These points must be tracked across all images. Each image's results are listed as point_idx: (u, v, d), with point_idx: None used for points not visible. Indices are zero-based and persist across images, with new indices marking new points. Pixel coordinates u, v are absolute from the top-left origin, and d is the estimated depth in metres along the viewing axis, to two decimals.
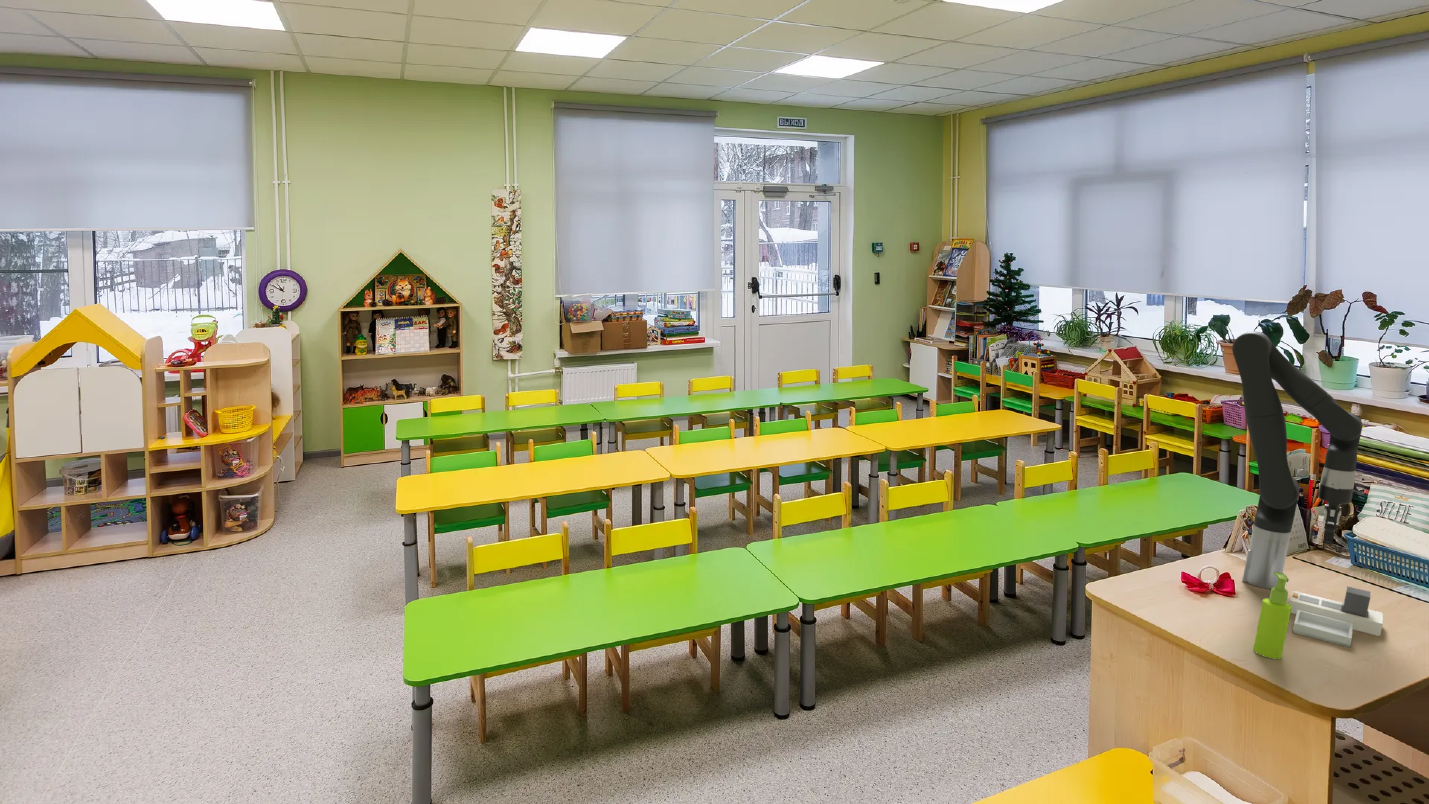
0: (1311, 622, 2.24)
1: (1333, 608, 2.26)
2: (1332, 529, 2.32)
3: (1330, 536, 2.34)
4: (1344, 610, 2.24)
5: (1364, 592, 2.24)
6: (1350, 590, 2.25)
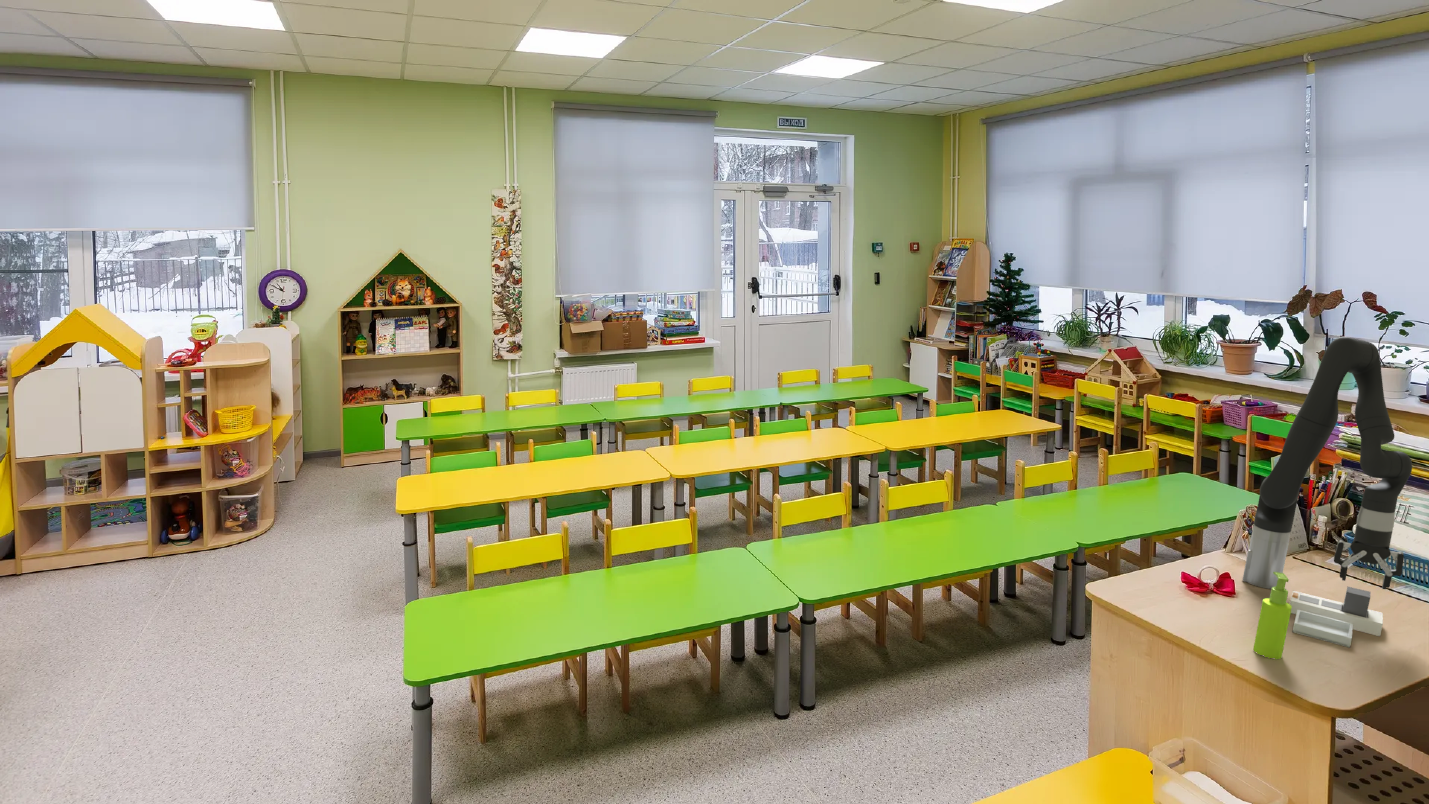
0: (1311, 622, 2.24)
1: (1333, 608, 2.26)
2: None
3: (1390, 580, 2.20)
4: (1344, 610, 2.24)
5: (1364, 592, 2.24)
6: (1350, 590, 2.25)
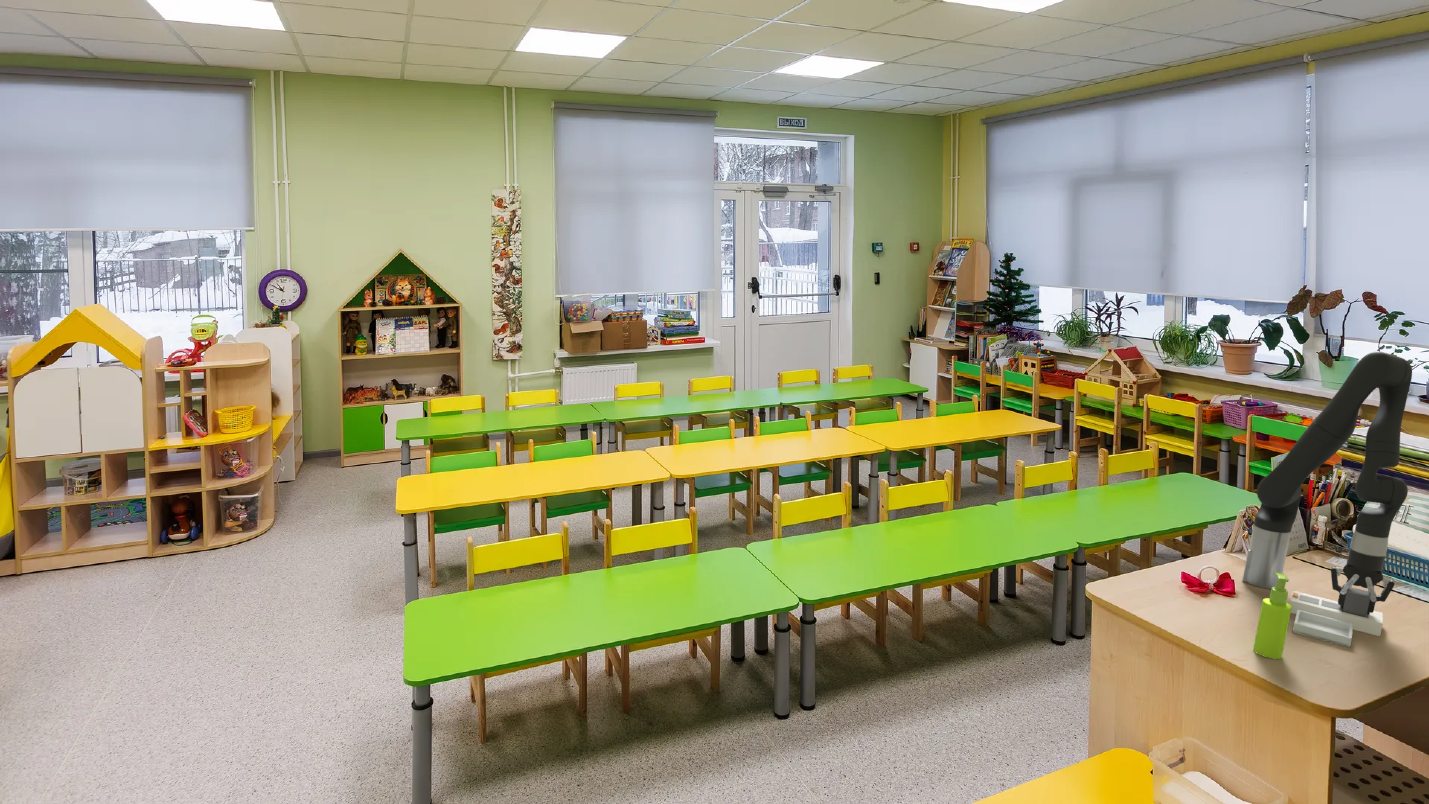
0: (1311, 622, 2.24)
1: (1333, 608, 2.26)
2: None
3: (1374, 605, 2.23)
4: (1344, 610, 2.24)
5: (1364, 592, 2.24)
6: (1350, 590, 2.25)
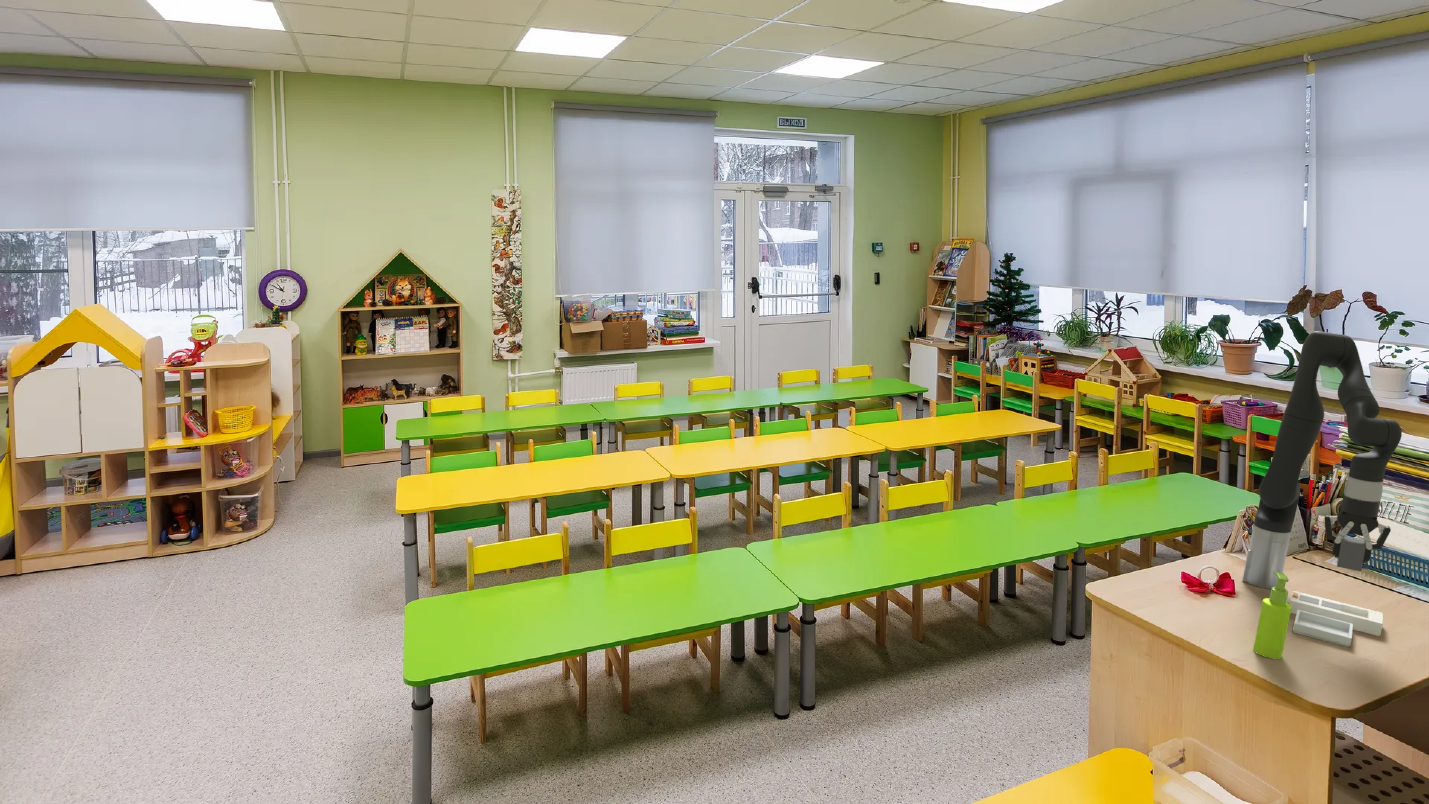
0: (1311, 622, 2.24)
1: (1333, 608, 2.26)
2: None
3: None
4: (1339, 560, 2.16)
5: (1359, 540, 2.16)
6: (1345, 539, 2.17)
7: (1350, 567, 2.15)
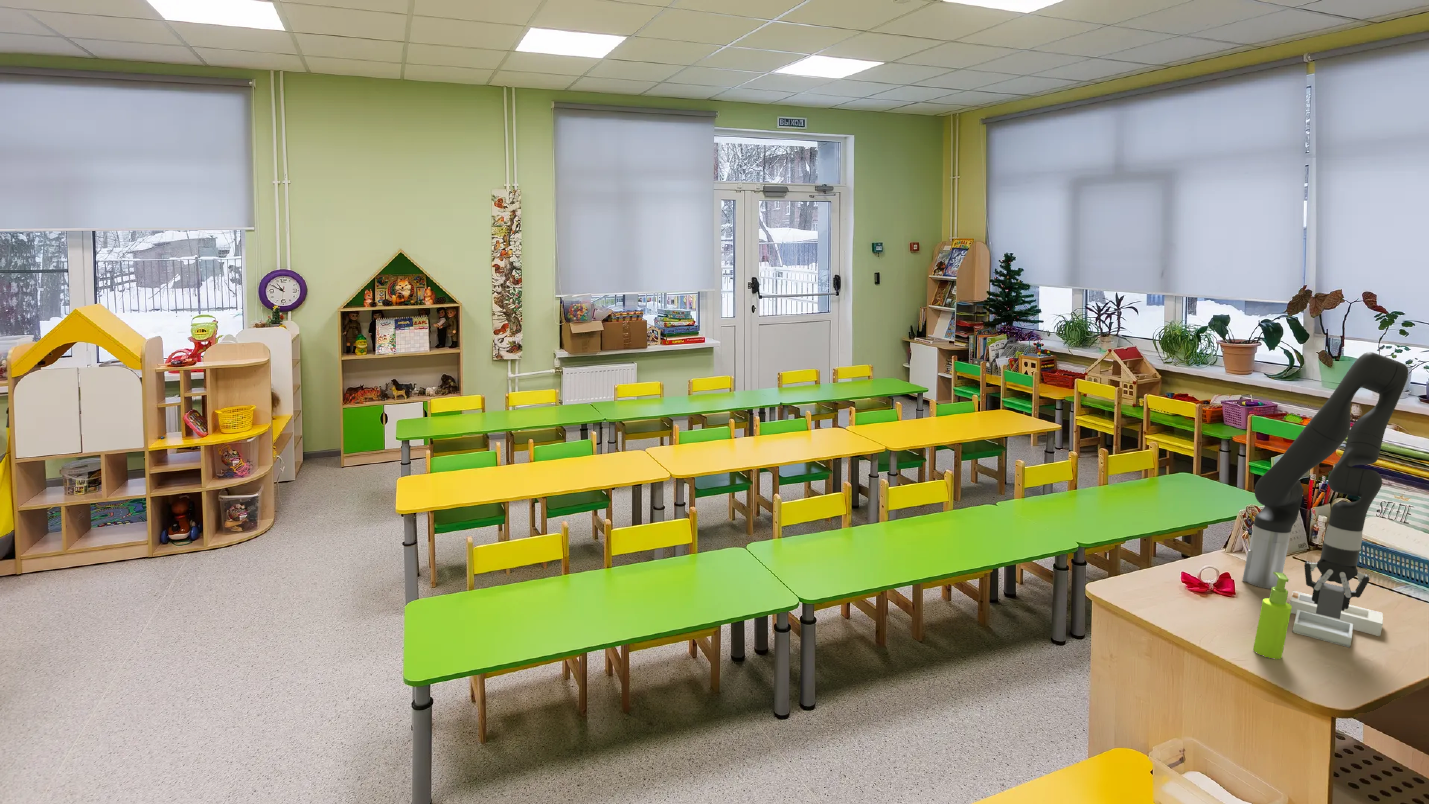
0: (1311, 622, 2.24)
1: None
2: None
3: (1349, 601, 2.15)
4: (1318, 607, 2.17)
5: (1338, 588, 2.17)
6: (1324, 586, 2.18)
7: (1329, 614, 2.16)
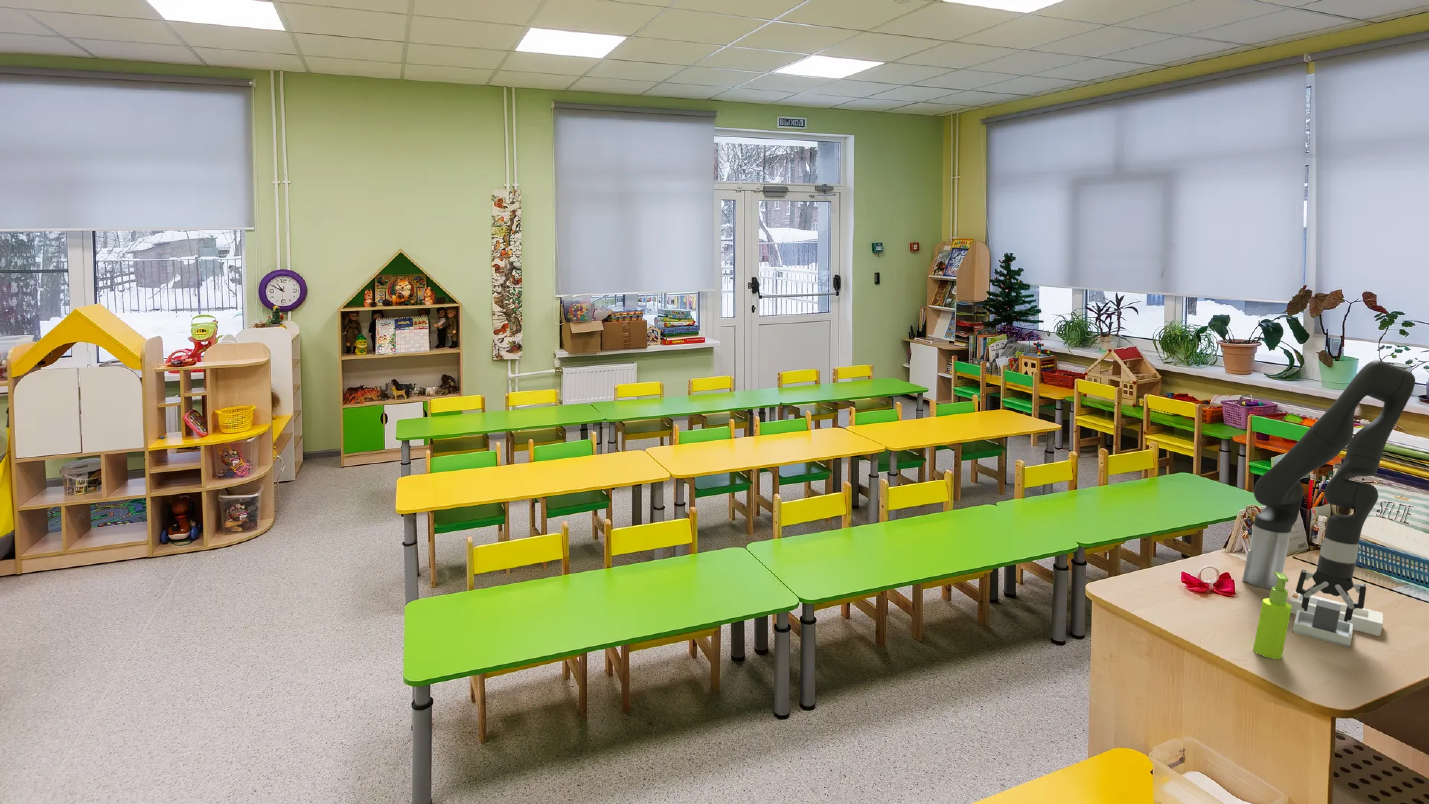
0: (1311, 622, 2.24)
1: None
2: None
3: (1352, 612, 2.15)
4: (1314, 624, 2.18)
5: (1334, 606, 2.17)
6: (1320, 603, 2.19)
7: None
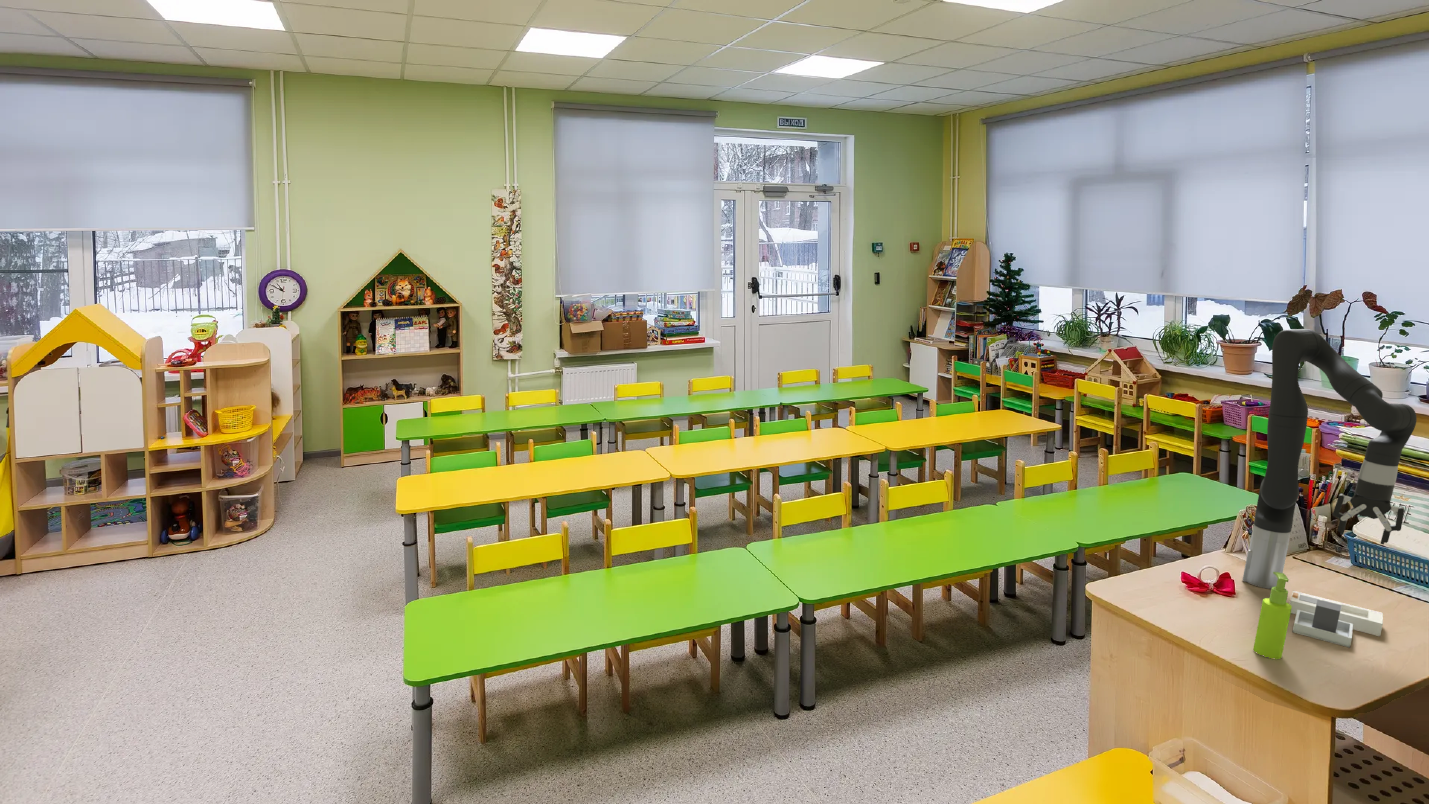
0: (1311, 622, 2.24)
1: None
2: None
3: (1389, 535, 2.17)
4: (1314, 624, 2.18)
5: (1334, 606, 2.17)
6: (1320, 603, 2.19)
7: None
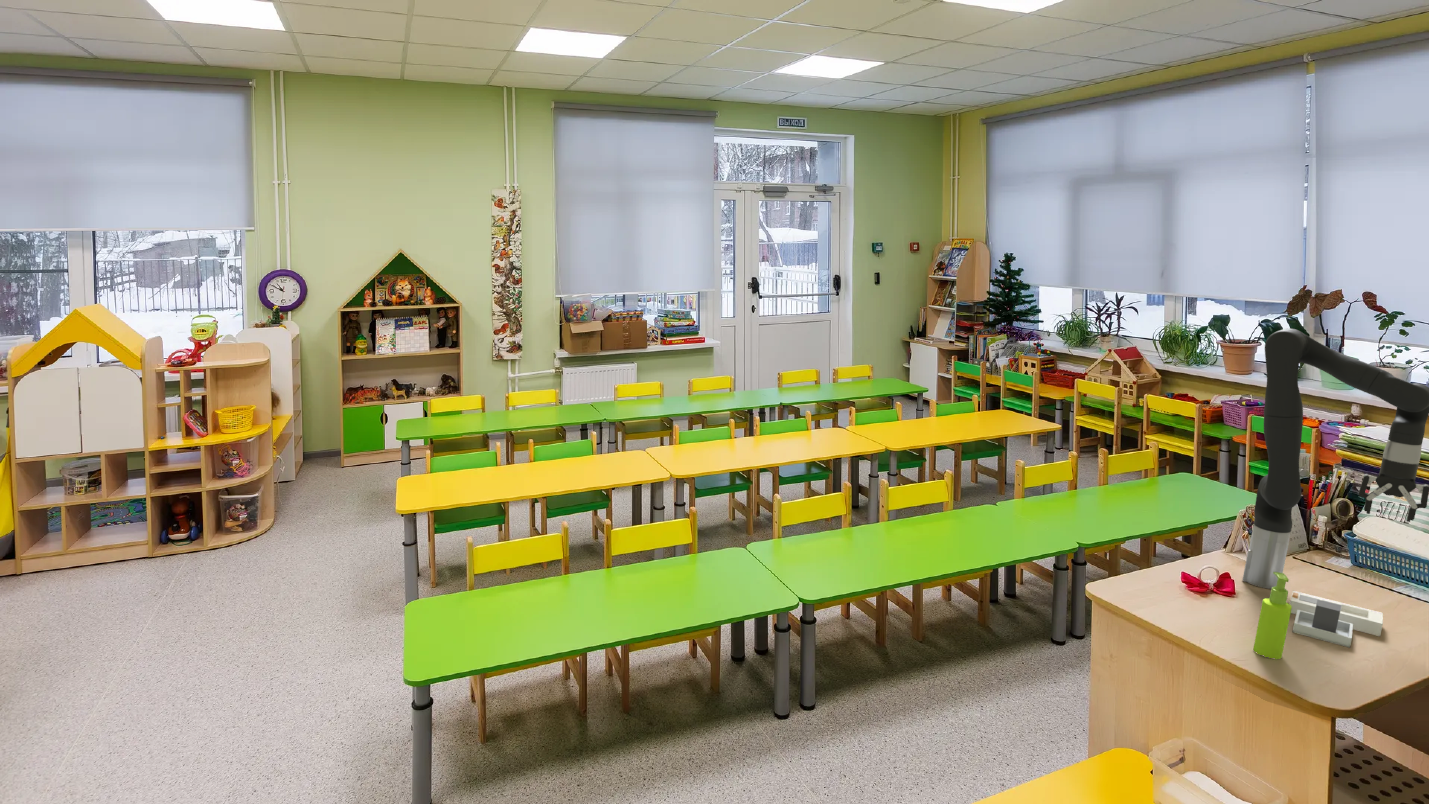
0: (1311, 622, 2.24)
1: None
2: None
3: None
4: (1314, 624, 2.18)
5: (1334, 606, 2.17)
6: (1320, 603, 2.19)
7: None
